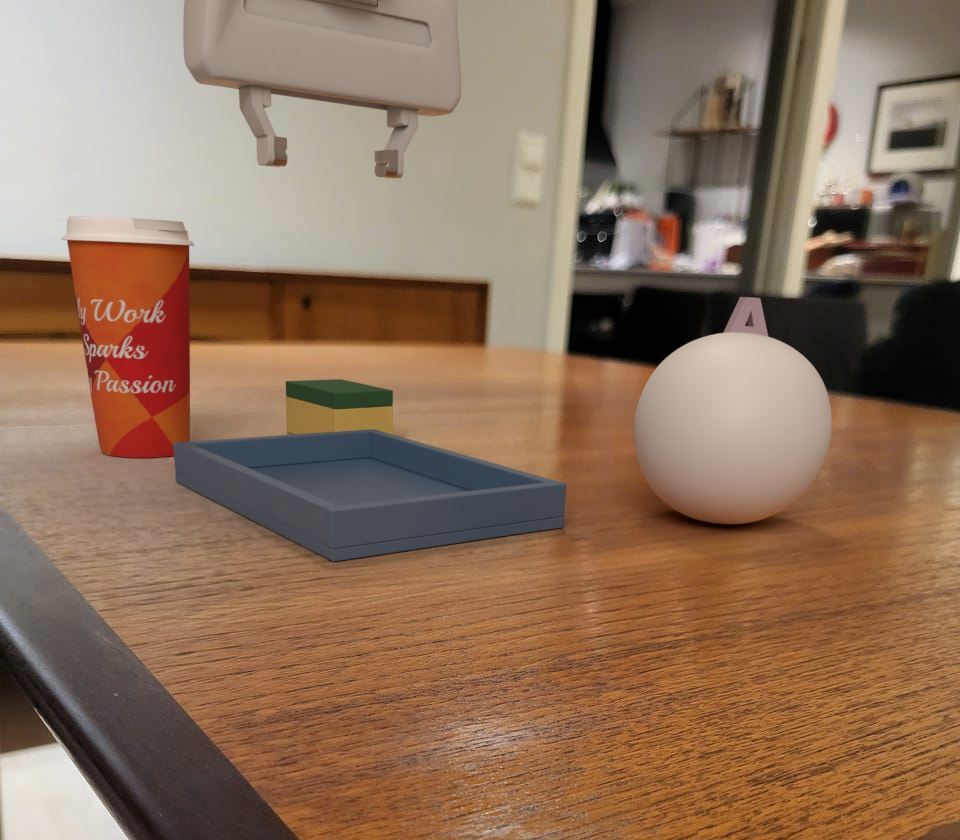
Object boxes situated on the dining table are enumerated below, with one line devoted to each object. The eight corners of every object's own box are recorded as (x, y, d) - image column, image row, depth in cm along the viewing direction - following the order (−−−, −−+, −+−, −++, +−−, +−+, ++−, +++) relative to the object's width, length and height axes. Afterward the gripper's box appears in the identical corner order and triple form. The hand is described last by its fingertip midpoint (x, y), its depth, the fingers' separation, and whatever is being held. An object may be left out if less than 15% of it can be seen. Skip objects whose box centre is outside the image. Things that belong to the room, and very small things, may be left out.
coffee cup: (56, 454, 68) (30, 213, 62) (130, 437, 75) (112, 220, 70) (164, 465, 65) (146, 217, 60) (229, 446, 73) (218, 224, 68)
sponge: (286, 432, 80) (285, 381, 79) (341, 428, 83) (341, 378, 81) (335, 448, 74) (334, 392, 73) (392, 443, 77) (393, 390, 76)
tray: (175, 481, 61) (172, 442, 60) (374, 464, 69) (374, 428, 68) (332, 562, 46) (332, 511, 45) (563, 527, 54) (567, 483, 53)
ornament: (725, 495, 63) (750, 295, 59) (853, 534, 55) (893, 304, 51) (592, 508, 58) (609, 291, 54) (710, 552, 50) (742, 300, 46)
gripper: (433, -16, 75) (429, 185, 80) (166, -78, 64) (180, 161, 69) (482, -32, 71) (475, 182, 76) (204, -103, 59) (216, 155, 64)
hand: (332, 172), depth 72 cm, fingers open, 8 cm apart
